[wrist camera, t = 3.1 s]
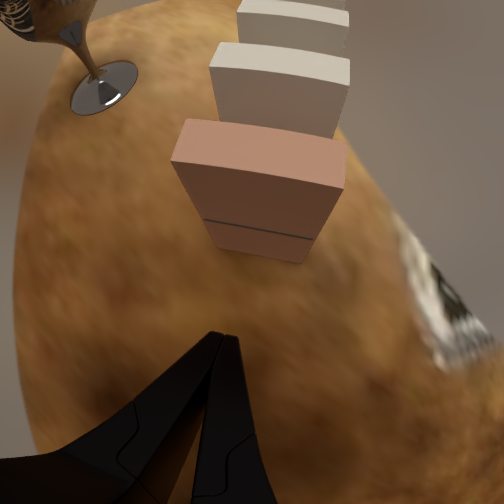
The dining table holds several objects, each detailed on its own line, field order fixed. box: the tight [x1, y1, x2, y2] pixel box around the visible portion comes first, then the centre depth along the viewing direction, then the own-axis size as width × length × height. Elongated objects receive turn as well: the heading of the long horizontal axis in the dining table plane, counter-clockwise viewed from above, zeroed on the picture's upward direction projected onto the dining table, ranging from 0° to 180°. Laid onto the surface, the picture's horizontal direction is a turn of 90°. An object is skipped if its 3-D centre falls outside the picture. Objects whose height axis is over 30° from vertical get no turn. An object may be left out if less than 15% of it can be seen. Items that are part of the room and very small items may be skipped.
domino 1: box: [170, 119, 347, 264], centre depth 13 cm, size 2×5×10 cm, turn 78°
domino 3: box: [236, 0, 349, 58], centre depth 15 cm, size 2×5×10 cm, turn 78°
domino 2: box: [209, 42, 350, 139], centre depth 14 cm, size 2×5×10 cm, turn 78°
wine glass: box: [0, 0, 138, 115], centre depth 15 cm, size 8×8×15 cm
